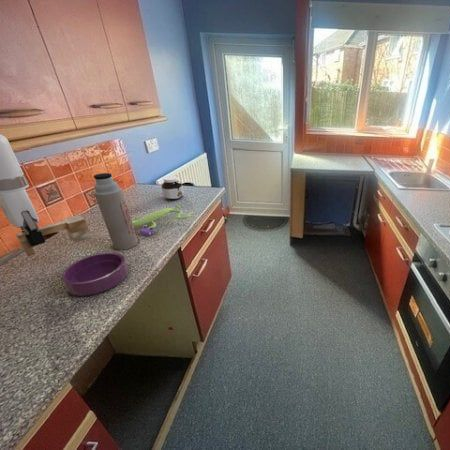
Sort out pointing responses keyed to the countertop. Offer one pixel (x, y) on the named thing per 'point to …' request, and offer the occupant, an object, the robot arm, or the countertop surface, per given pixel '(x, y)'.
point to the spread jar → (172, 188)
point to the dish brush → (73, 225)
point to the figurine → (155, 216)
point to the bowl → (95, 274)
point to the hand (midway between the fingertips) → (36, 242)
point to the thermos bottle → (114, 212)
